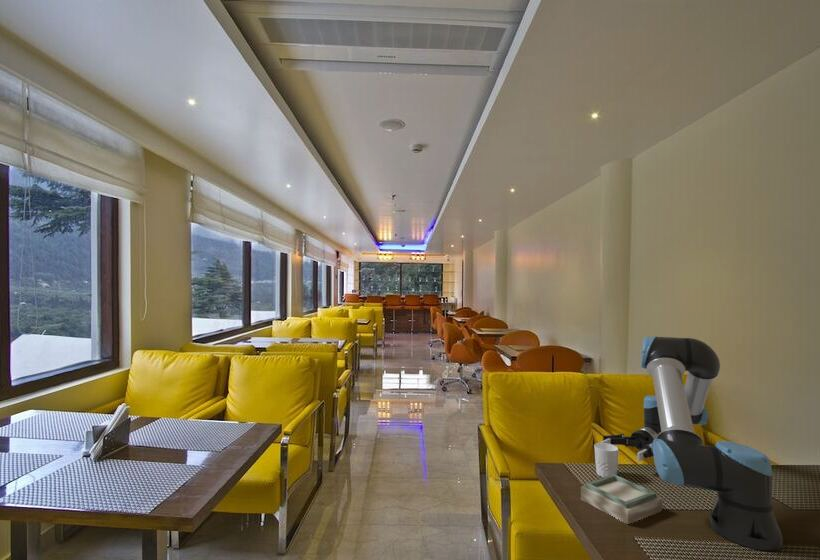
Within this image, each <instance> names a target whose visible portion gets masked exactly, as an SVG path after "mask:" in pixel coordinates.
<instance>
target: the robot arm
mask: <svg viewBox="0 0 820 560" xmlns="http://www.w3.org/2000/svg"><path fill="white" fill-rule="evenodd" d="M641 345H642V346H641V355H640V356H641V357H640V367H641V368H643V369H645V370H646V372H647V374H648V375H649V376H651V378H652V379H653V382H652V383H653V387H654V393H655V395H646V396H644V398H643V427H642V428H640V429H638V430H635V431H633V432H632V433H631V435H630V436H625V434H624V433H620V434H610V435H603V436H602V441H600V443H608V444H612V445H615V446H617V445H618V446H619V445H622V446H625V447H632V448H636V449H637V450H639V451H638V452H636V460H637V461H638V462H641V461H642V460H644V459H648V458H652V457H653V461H654V464H655V469H656V472H657V475H658V476H659V478H660V479H661V480H662V481H663V482H665V483H668V484H671V485H676V486H679V487H687V488H694V489H698V490H699V489H701V490H707V491H713V492H717V498H716V500H715V504H714V505H713V508H712V511H711V513H710V515H709V516H710V517H709V518H710V527H711V528H712V529H713V531H715V533H717V534H719V536H722V537H723V538H725V539H727V540H728V541H731V542H732V543H735V544H737V545H740V546H744V547H746V548H750V549H754V550H760V551H767V552H768V551H769V552H770V551H772V552H773V551H778V550H781V549H782V548H783V545H784V544H783V541H784V539H783V533H782V530H781V528H780V527H779V524H778V521H777V519H776V517H775V514H774V511H773V510H774V509H773V481H772V480H773V470H772V464H771V460H770V458H769V456H767V455H766V454H765V453H763V452H761V450H760V451H759V450H757V449H755V448H753V447H750V446H748V445H744V444H742V443H737V442H734V441H730V440H729V441H728V440H717V441H716V443H715V445H714V446H710V445H705V444H704V441H703V438H702V436H700V435H699V434H698V433H696V432H695V430H694V429H695V428H694V425H696V426H697V425H701V426H702V425H703V426H705V425H707V424H708V421H709V420H708V419H709V414H708V409H707V407H705V404H706V401H707V398H708V395H709V391H710V388H711V386H712V384H713V383H712V382H713V379H716V378H717V377H718V375H719V374H720V373H719V372H720V370H721V363H720V358H719V357H718V355H717V353H716V352H715V350H714V349H713V348H712V347H711V346H710V345H708V344H707V343H705V342H704V341H702V340H700V339H698V338H694V337H693V338H691V337H670V336H656V335H655V336H645V337H644V338H643V339H642V343H641ZM686 372H687V376H686V379H685V384H684V381H683V377H682V376H684V374H685V373H686Z"/></svg>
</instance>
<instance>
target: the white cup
mask: <svg viewBox="0 0 820 560" xmlns="http://www.w3.org/2000/svg"><path fill="white" fill-rule="evenodd" d="M593 446H594V460H595V461H594V463H595V469H596V470H595V471H596V474H597V475H598V476H599V477H602V478H605V477H608V476H611V475H617V476H618V467H619V447H618V446H617V445H612V444H608V443H601V442H596V443H594V445H593Z"/></svg>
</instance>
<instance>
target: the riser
mask: <svg viewBox="0 0 820 560" xmlns="http://www.w3.org/2000/svg"><path fill="white" fill-rule="evenodd" d="M580 500H581V501H582V502H584V503H587V504H589V505H591V506H593V507H594V508H595V509H598V510H600V511H602V512H603V513H605V514H607V515H608V514H609V516H610V515H611V516H610V517H612V516H613V518H614V517H615V518H614V519H616V520H618V519H619V520H620V521H619V520H618V521H619V522H621V521H622V522H621V523H623V522H624V523H623V524H625V523H627V524H630V523H632V524H634V523H633V522H635V523H637V522H639V521H638V520H640V521H642V520H644V519H643V518H645V519H646V517H647V518H649V517H648V516H650V517H652V516H654V515H656V513H657V514H659V513H662V512H663V497H661V496H659V495H657V492H655V491H652V490H651V489H648V488H646V487H644V486H642V485H639V484H637V483H634V482H633V481H630V480H628V479H626V478H623V477H621V476H619V475H618V474H617V475H611V476H608V477H605V478H604V477H602V478H598V479H596V480H591V481H589V482H586V483H585V484H584V485H581V486H580ZM661 511H662V512H661ZM651 515H652V516H651ZM641 519H642V520H641ZM636 521H637V522H636ZM627 524H626V525H627ZM630 525H631V524H630Z"/></svg>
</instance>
